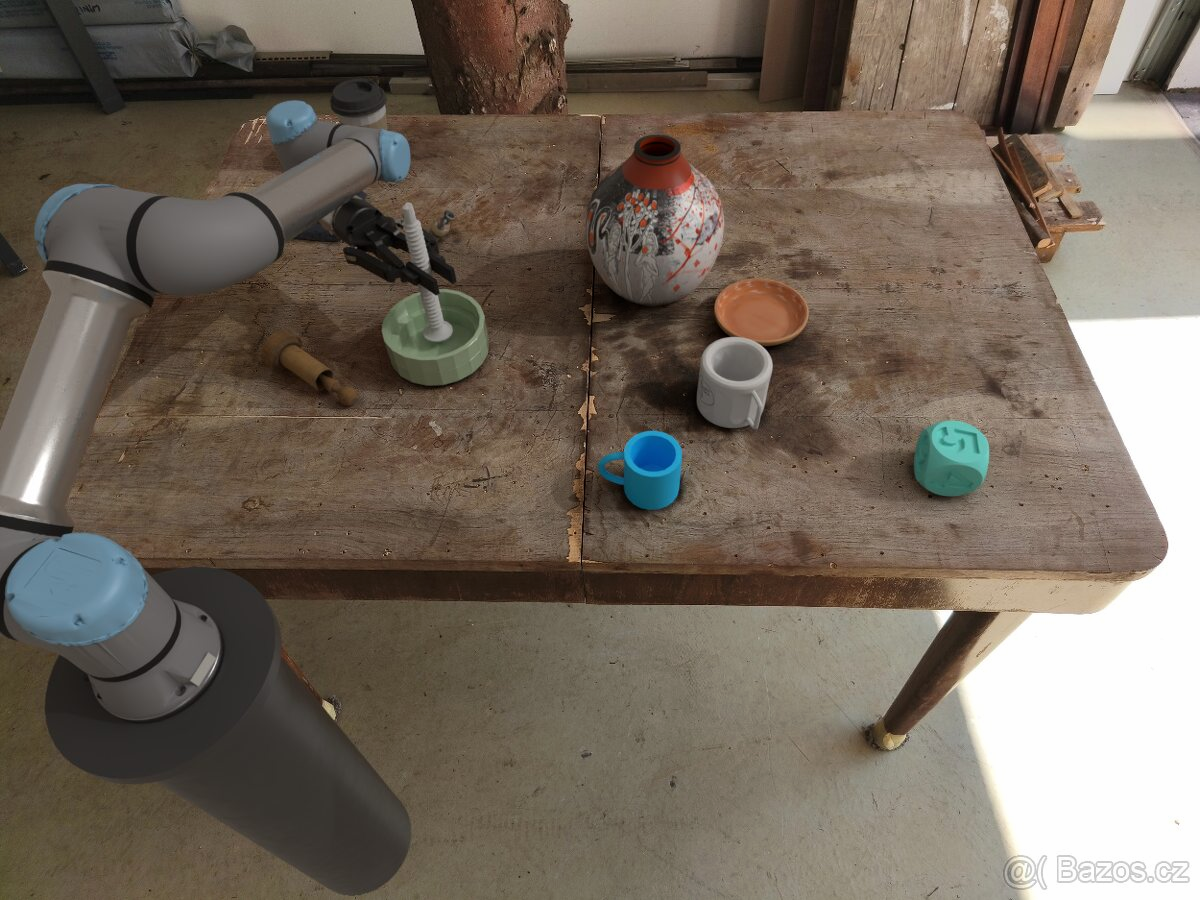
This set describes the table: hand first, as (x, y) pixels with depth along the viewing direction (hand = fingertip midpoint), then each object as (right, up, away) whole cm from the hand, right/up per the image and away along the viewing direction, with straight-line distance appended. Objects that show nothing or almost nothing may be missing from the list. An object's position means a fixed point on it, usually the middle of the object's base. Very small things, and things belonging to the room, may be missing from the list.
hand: (444, 281), depth 123 cm
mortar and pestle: (-30, -8, +11) cm, 34 cm away
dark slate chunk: (-35, +21, +39) cm, 56 cm away
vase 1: (-6, +15, +33) cm, 37 cm away
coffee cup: (-25, +37, +51) cm, 68 cm away
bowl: (-3, -9, +14) cm, 17 cm away
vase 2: (+33, +4, +24) cm, 41 cm away
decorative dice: (+74, -29, -3) cm, 80 cm away
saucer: (+51, -3, +18) cm, 54 cm away
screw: (-4, -6, +14) cm, 15 cm away
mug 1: (+29, -31, -3) cm, 43 cm away
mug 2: (+45, -19, +5) cm, 49 cm away
